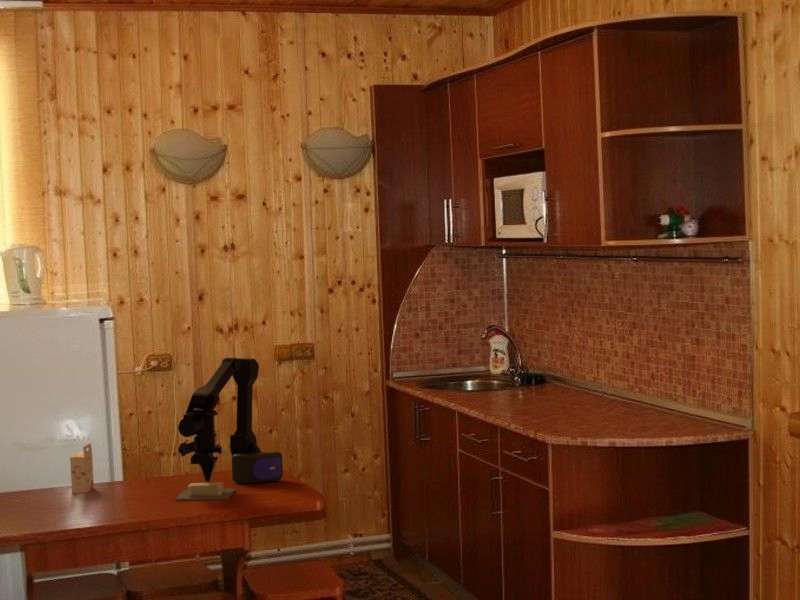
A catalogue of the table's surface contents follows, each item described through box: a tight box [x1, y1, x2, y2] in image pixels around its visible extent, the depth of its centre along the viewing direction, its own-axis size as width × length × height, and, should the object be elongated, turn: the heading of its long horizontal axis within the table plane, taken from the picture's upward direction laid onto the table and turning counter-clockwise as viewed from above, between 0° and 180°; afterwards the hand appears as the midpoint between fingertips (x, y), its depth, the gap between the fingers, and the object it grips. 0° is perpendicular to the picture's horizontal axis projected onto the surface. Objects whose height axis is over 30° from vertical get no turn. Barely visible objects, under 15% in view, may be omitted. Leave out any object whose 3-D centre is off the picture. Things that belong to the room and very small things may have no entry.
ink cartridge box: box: [69, 442, 95, 494], centre depth 378 cm, size 9×5×15 cm, turn 179°
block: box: [187, 481, 224, 496], centre depth 365 cm, size 3×10×5 cm
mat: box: [175, 488, 236, 502], centre depth 366 cm, size 13×16×1 cm
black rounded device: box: [231, 451, 284, 484], centre depth 383 cm, size 16×5×9 cm, turn 98°
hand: (207, 481), depth 369 cm, fingers closed
